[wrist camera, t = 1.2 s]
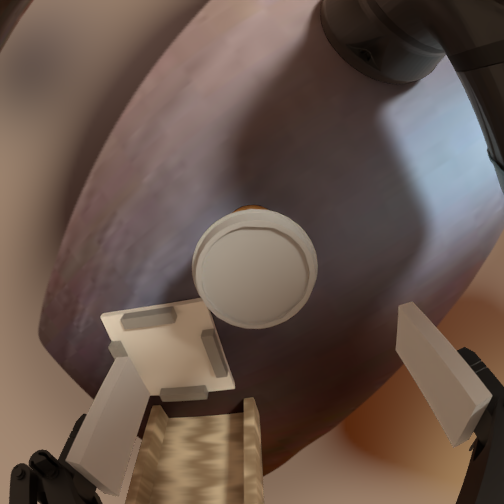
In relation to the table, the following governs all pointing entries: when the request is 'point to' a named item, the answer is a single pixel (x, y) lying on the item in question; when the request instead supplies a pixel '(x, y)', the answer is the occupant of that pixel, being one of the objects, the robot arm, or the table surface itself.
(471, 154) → the table surface
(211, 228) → the disposable coffee cup
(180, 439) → the upright plywood slab
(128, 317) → the seat plate
